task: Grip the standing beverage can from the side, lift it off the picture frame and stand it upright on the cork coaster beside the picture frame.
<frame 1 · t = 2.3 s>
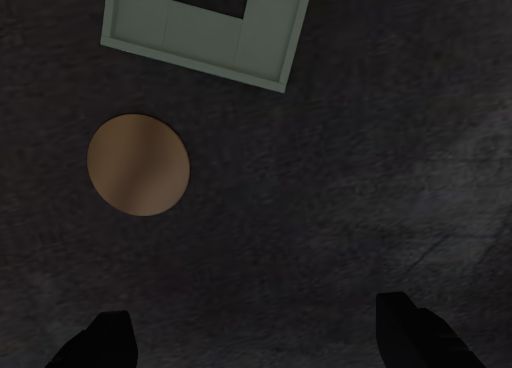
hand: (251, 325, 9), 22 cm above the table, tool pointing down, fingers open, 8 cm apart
coaster: (139, 166, 31), on the table
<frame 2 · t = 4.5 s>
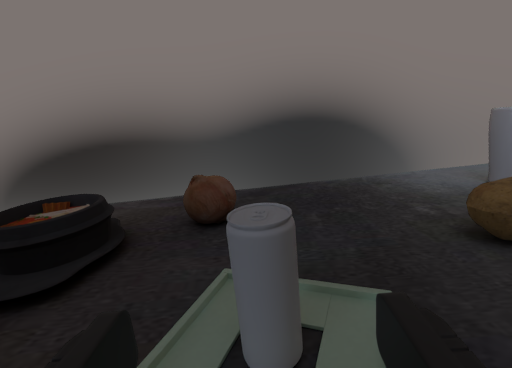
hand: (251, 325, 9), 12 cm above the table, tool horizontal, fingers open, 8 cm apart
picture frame: (272, 354, 23), on the table
onion: (213, 222, 53), on the table
drinking glass: (504, 184, 58), on the table
beverage can: (273, 356, 23), resting on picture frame
casserole: (61, 262, 43), on the table
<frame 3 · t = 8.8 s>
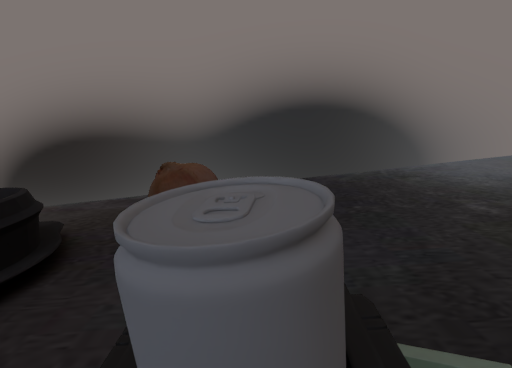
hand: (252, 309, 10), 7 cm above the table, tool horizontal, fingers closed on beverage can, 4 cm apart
onion: (191, 226, 39), on the table
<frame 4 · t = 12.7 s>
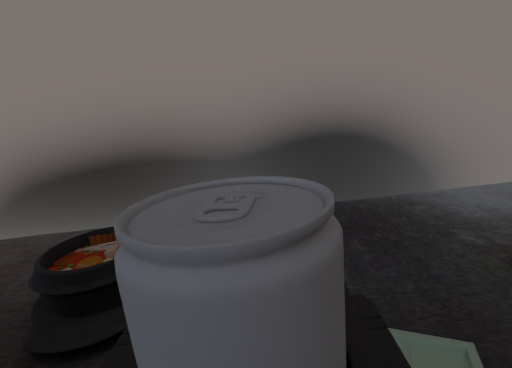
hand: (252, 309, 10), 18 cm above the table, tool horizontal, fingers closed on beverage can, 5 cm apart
casserole: (111, 296, 42), on the table
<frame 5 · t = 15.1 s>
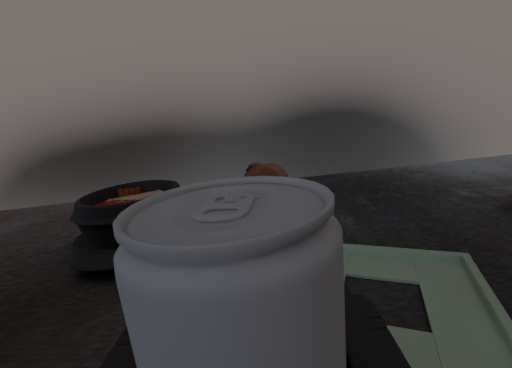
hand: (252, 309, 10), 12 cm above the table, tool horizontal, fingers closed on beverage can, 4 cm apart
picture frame: (382, 301, 27), on the table
onion: (267, 207, 57), on the table
casserole: (140, 241, 46), on the table
when the fingers open (8 cm above the table, at t = 16.7 s): beverage can stays where it is, resting on coaster.
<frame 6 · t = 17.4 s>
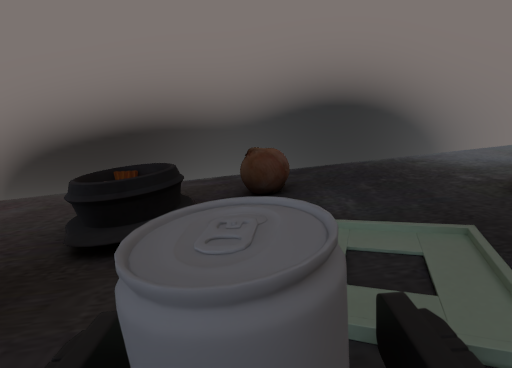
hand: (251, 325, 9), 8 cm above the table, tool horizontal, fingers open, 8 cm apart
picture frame: (384, 270, 26), on the table
onion: (267, 193, 56), on the table
casserole: (136, 224, 45), on the table
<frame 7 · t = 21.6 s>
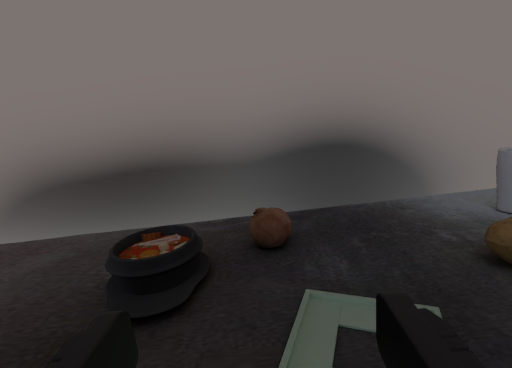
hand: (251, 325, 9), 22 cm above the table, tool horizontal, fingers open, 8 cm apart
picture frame: (366, 352, 34), on the table
onion: (272, 246, 64), on the table
drinking glass: (510, 211, 69), on the table
casserole: (162, 282, 54), on the table
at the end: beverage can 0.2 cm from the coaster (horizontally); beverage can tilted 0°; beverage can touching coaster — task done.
